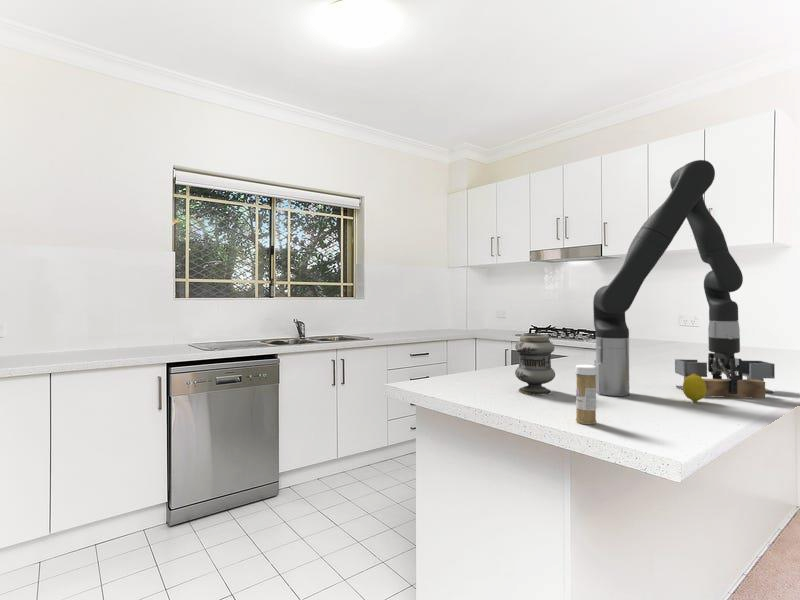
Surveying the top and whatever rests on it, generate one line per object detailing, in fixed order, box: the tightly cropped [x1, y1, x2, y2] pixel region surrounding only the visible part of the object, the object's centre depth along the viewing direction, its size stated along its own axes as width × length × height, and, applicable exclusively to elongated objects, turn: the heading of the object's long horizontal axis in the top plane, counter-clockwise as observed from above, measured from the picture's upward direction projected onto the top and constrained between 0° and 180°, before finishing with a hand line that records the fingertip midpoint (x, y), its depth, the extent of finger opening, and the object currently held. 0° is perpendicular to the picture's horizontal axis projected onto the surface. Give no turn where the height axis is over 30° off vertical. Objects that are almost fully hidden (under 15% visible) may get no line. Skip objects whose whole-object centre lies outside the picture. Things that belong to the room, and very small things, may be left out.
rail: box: [683, 377, 766, 399], centre depth 132 cm, size 20×4×5 cm, turn 81°
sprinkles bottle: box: [575, 364, 597, 425], centre depth 105 cm, size 5×5×14 cm
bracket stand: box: [674, 358, 776, 394], centre depth 140 cm, size 25×7×9 cm, turn 79°
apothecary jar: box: [514, 333, 556, 396], centre depth 140 cm, size 12×12×18 cm
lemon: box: [682, 374, 706, 403], centre depth 124 cm, size 6×6×8 cm
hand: (724, 390), depth 132 cm, fingers open, 8 cm apart
